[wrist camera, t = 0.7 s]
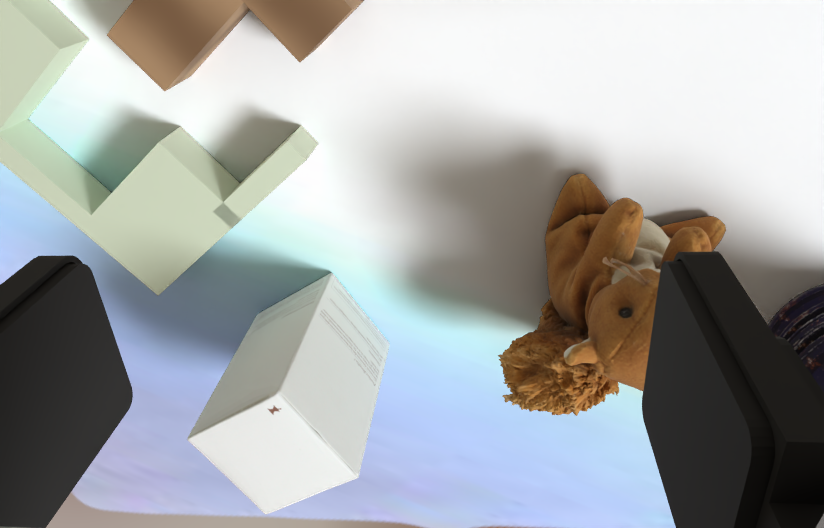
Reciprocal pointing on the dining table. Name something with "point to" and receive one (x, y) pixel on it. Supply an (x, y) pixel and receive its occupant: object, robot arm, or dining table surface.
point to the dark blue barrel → (804, 329)
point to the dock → (147, 183)
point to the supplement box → (296, 398)
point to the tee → (217, 30)
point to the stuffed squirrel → (597, 300)
